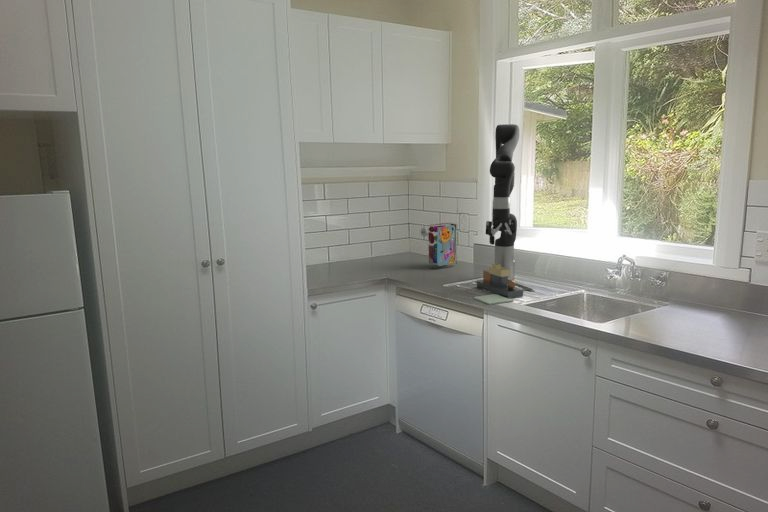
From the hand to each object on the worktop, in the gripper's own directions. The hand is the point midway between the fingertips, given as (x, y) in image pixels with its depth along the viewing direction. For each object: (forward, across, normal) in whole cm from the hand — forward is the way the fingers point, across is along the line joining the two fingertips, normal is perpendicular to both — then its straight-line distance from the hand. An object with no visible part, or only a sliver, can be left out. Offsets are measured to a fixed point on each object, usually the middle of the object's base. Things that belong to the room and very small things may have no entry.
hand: (500, 243), depth 248 cm
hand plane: (+22, 0, 0) cm, 22 cm away
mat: (+22, +11, +11) cm, 27 cm away
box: (+22, -2, -60) cm, 64 cm away
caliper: (+23, -11, -3) cm, 25 cm away
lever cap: (+14, 0, 0) cm, 14 cm away
